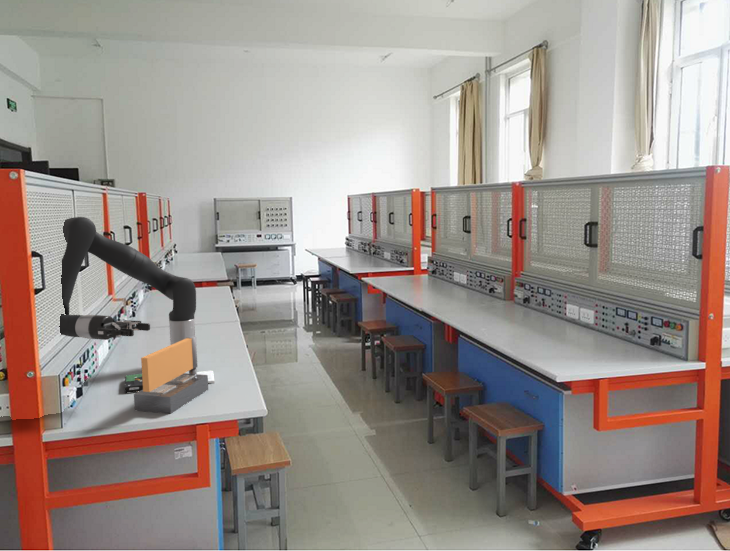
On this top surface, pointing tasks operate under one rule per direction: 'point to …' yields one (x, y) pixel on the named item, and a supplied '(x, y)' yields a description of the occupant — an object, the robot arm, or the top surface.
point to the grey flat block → (171, 394)
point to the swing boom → (168, 363)
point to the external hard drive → (210, 375)
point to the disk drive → (133, 383)
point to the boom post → (192, 371)
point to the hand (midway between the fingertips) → (141, 329)
